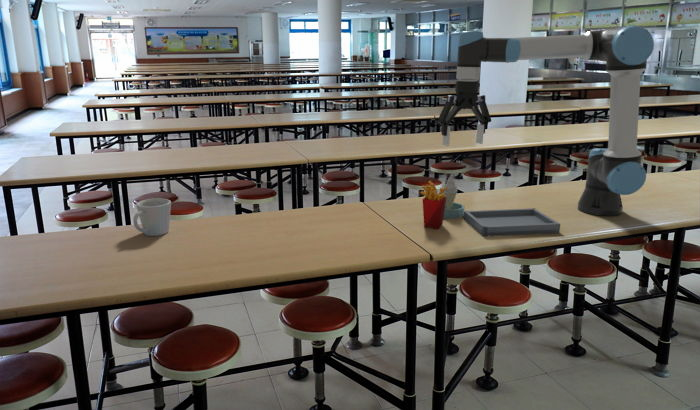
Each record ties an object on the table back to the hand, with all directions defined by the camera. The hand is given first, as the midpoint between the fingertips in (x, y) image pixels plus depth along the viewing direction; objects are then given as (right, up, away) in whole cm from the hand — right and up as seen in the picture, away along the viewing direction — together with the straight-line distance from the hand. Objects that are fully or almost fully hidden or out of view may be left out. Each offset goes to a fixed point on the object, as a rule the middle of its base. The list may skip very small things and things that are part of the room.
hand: (462, 144), depth 187 cm
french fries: (-12, -28, -2) cm, 30 cm away
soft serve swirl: (-3, -24, +11) cm, 27 cm away
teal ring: (-3, -24, +11) cm, 26 cm away
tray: (+16, -28, -1) cm, 32 cm away
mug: (-101, -30, -12) cm, 106 cm away
